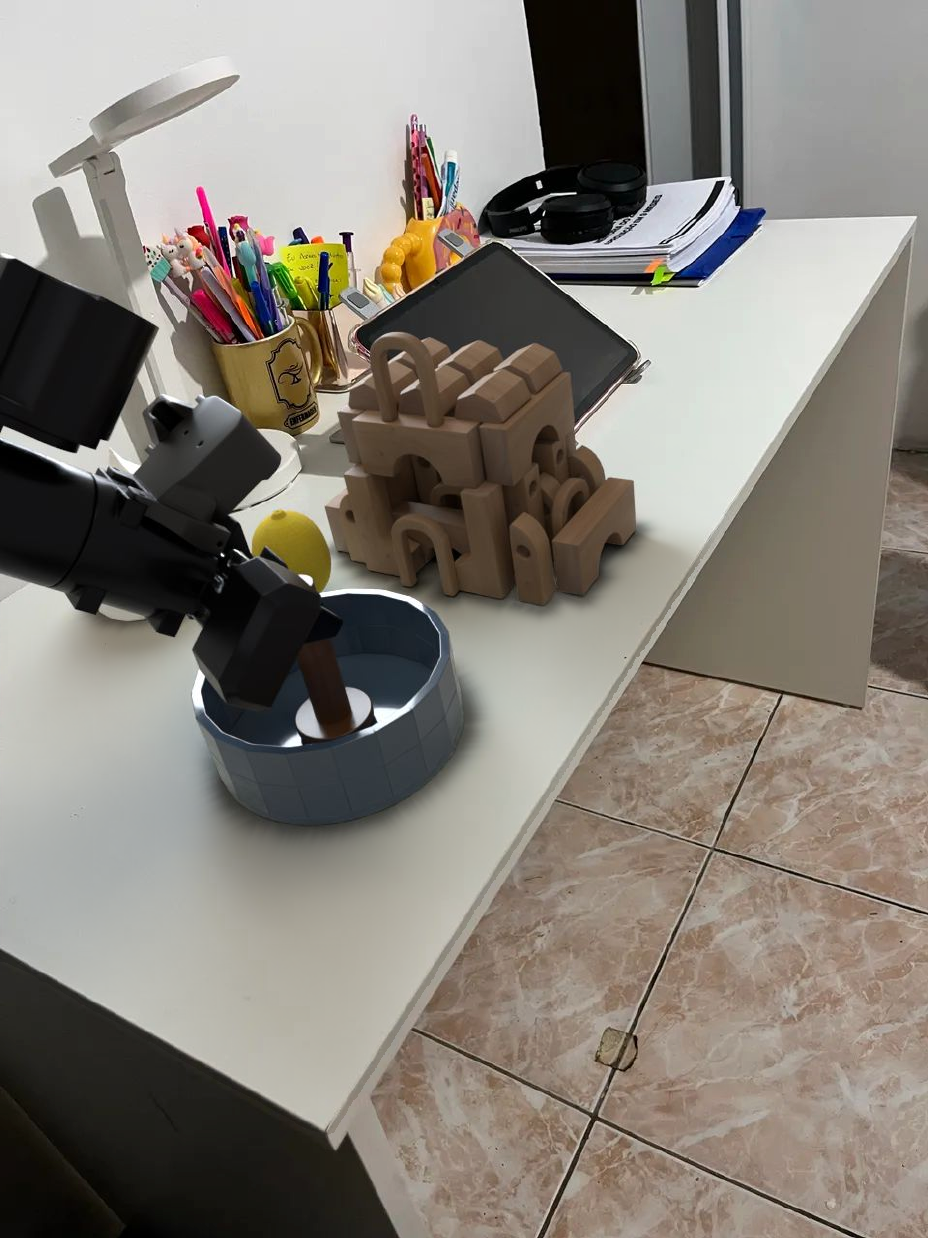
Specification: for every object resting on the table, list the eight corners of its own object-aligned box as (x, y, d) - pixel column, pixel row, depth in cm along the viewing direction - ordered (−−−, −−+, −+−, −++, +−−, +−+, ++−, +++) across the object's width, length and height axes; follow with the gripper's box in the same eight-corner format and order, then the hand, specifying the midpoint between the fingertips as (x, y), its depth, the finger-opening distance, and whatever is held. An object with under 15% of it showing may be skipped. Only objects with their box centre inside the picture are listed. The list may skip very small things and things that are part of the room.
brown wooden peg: (340, 757, 55) (297, 618, 50) (281, 734, 58) (233, 599, 52) (390, 706, 58) (354, 570, 53) (331, 687, 61) (291, 555, 55)
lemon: (275, 588, 74) (246, 497, 69) (345, 579, 73) (320, 487, 69) (263, 629, 69) (231, 535, 65) (337, 620, 69) (310, 525, 64)
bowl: (360, 862, 50) (336, 789, 47) (169, 774, 58) (138, 706, 55) (510, 690, 59) (498, 619, 56) (328, 635, 67) (309, 570, 64)
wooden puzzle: (647, 516, 74) (636, 273, 63) (564, 622, 64) (534, 356, 54) (415, 482, 85) (372, 270, 74) (315, 567, 75) (249, 338, 65)
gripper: (216, 424, 36) (489, 553, 47) (84, 332, 50) (319, 448, 60) (93, 677, 38) (385, 746, 48) (-2, 520, 51) (242, 601, 62)
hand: (329, 618), depth 55 cm, fingers closed on brown wooden peg, 2 cm apart
